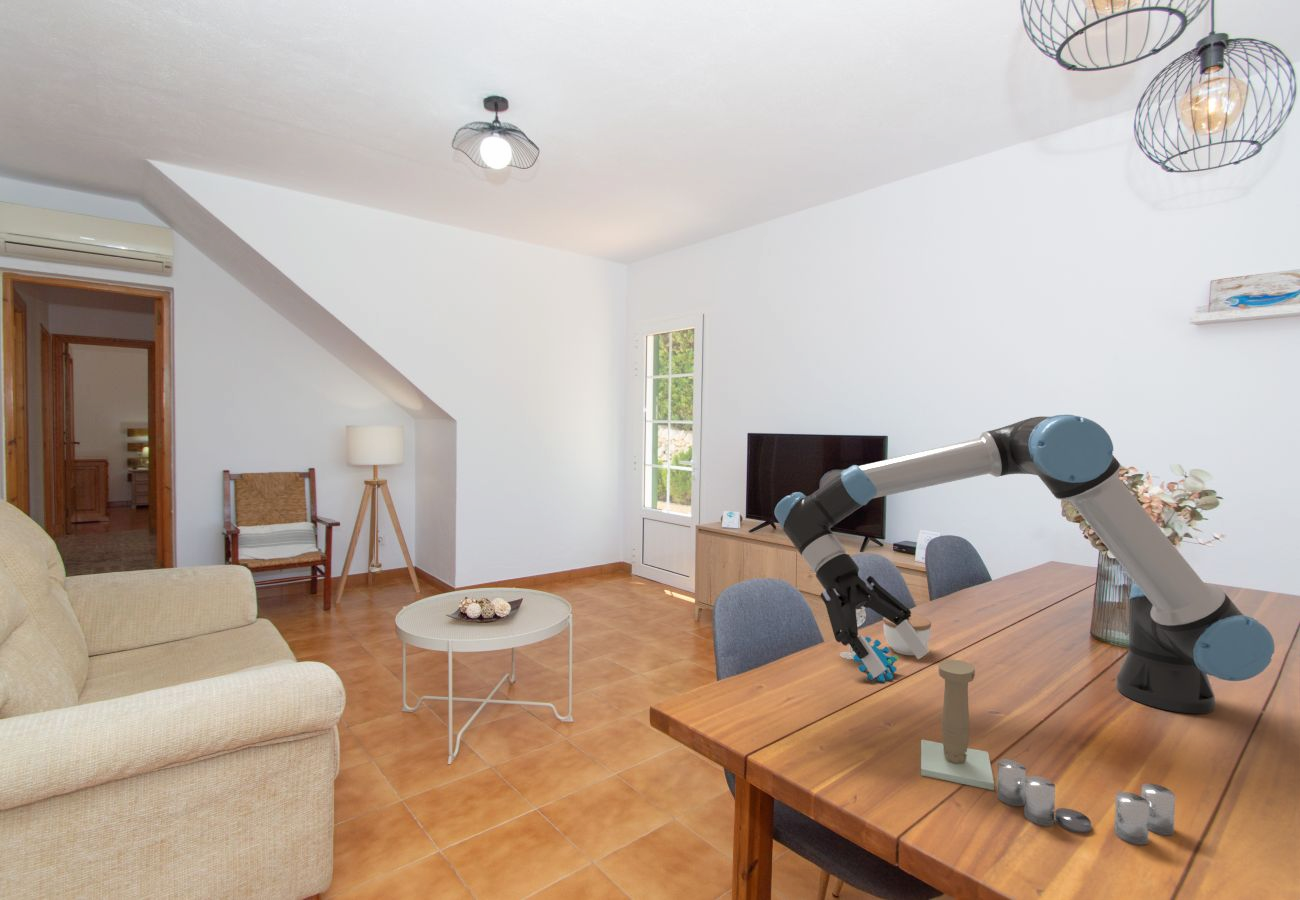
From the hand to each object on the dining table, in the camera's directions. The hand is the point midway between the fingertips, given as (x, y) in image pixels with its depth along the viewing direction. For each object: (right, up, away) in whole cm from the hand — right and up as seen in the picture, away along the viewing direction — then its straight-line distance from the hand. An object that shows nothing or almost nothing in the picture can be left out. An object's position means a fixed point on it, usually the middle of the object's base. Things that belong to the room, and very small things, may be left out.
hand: (903, 664), depth 108 cm
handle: (+5, -13, -8) cm, 16 cm away
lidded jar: (+18, -12, +43) cm, 48 cm away
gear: (+5, -12, +28) cm, 31 cm away
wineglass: (+4, -12, +39) cm, 41 cm away
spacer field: (+16, -14, -22) cm, 30 cm away
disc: (+14, -14, -23) cm, 30 cm away
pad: (+5, -13, -9) cm, 17 cm away
